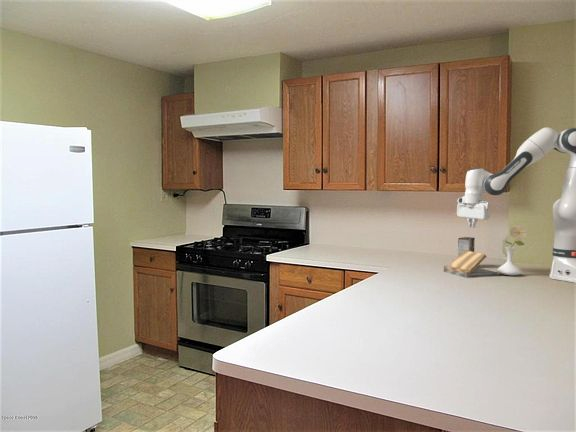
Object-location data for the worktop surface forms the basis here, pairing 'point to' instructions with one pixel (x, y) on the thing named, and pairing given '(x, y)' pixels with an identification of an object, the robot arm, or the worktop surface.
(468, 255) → the light wood flat slab
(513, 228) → the flower in vase
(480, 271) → the underlay panel
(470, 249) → the coffee box
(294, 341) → the worktop surface
